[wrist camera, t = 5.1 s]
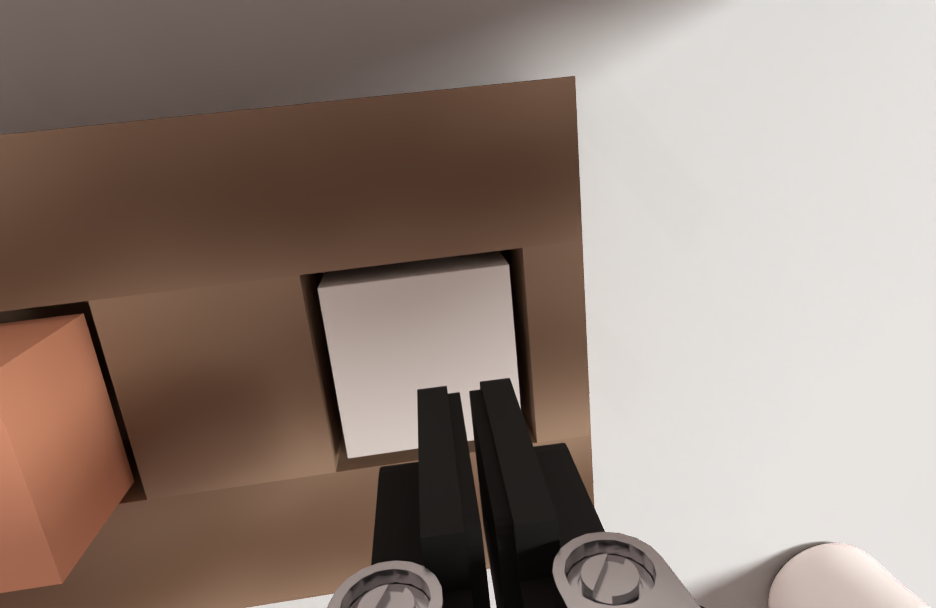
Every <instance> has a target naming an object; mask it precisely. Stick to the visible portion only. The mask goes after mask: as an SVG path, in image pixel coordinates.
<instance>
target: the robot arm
mask: <svg viewBox="0 0 936 608" xmlns="http://www.w3.org/2000/svg"><path fill="white" fill-rule="evenodd" d="M469 396H470V406H471V415H472V425H473V434H474V443H475V453H476V462H477V471H478V481H479V490H480V500H481V509H482V518H483V526H484V533H485V539H486V545H487V551H488V557H489V564H490V570H491V576H492V582H493V588H494V594H495V600H496V606H497V608H704V607H702V606H700V605H698V603H697V602H696V601H695V599H694V598H693V597H692V595H691V594H690V593H689V592H688V590H687V589H686V588H685V586H684V585H683V584H682V582H681V581H680V580H679V579H678V577H677V576H676V575H675V573H674V572H673V571H672V569H671V568H670V567H669V566H668V564H667V563H666V562H665V560H664V559H663V558H662V556H660V555H659V554H658V553H657V552H656V551H655V550H654V549H653V548H652V547H651V546H650V545H648V544H646V543H644V542H643V541H641V540H639V539H637V538H635V537H631V536H628V535H625V534H621V533H613V532H605V531H604V529H603V526H602V524H601V522H600V520H599V517H598V515H597V513H596V511H595V508H594V506H593V504H592V501H591V499H590V497H589V495H588V492H587V490H586V488H585V485H584V483H583V481H582V479H581V476H580V474H579V472H578V470H577V467H576V465H575V463H574V460H573V458H572V456H571V454H570V451H569V449H568V447H567V445H566V444H565V443H557V444H549V445H542V446H534V447H533V444H532V441H531V438H530V435H529V432H528V429H527V426H526V423H525V420H524V418H523V415H522V412H521V409H520V406H519V403H518V400H517V397H516V394H515V391H514V388H513V386H512V383H511V380H510V378H504V379H496V380H488V381H480V390H472V391H469ZM417 410H418V460H419V462H412V463H405V464H397V465H390V466H382V467H380V469H379V477H378V489H377V501H376V513H375V525H374V537H373V548H372V560H371V566H369V567H366V568H363V569H361V570H360V571H358V572H357V573H355V574H353V575H352V576H350V577H349V578H347V579H346V580H345V581H344V582H343V583H342V584H341V586H340V587H339V588H338V589H337V590H336V591H335V593H334V595H333V597H332V599H331V600H330V602H329V604H328V607H327V608H490V599H489V590H488V581H487V572H486V562H485V553H484V544H483V536H482V529H481V522H480V515H479V509H478V502H477V496H476V490H475V484H474V478H473V471H472V465H471V459H470V453H469V447H468V440H467V434H466V428H465V422H464V416H463V409H462V403H461V397H460V392H456V393H449V394H448V391H447V386H440V387H433V388H425V389H417Z"/></svg>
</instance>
